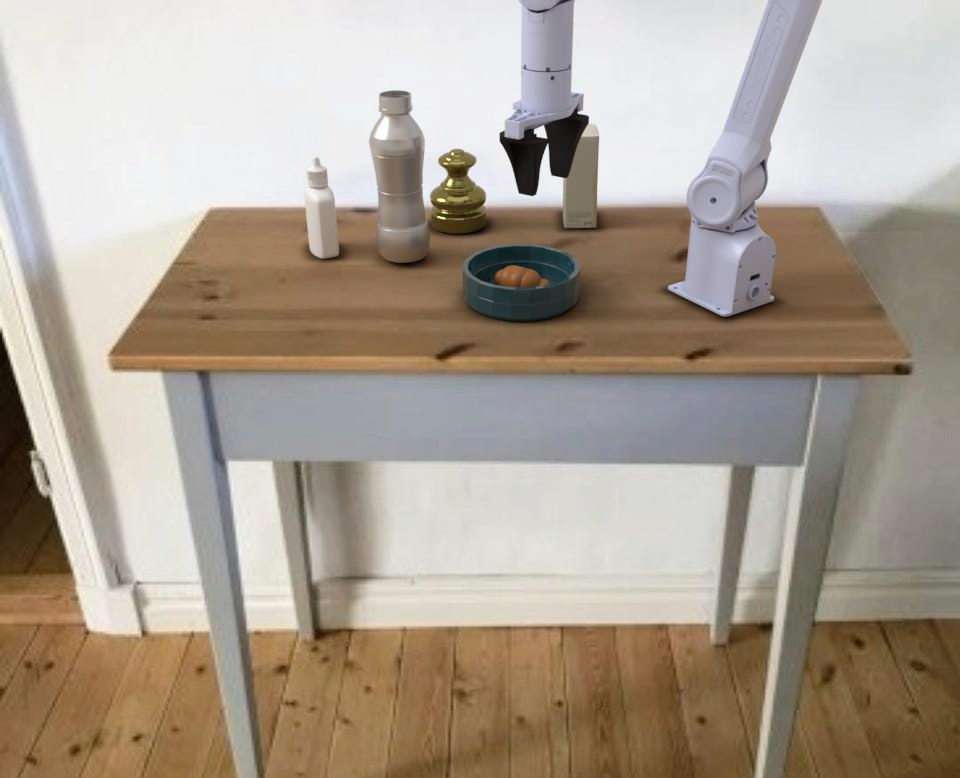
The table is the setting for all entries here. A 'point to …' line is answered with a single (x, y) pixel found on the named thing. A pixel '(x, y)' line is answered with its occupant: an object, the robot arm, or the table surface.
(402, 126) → the plastic bottle
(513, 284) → the croissant
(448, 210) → the gold tiered knob
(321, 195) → the eye dropper bottle
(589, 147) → the cosmetic box
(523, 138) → the robot arm
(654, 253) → the table surface
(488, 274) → the bowl
